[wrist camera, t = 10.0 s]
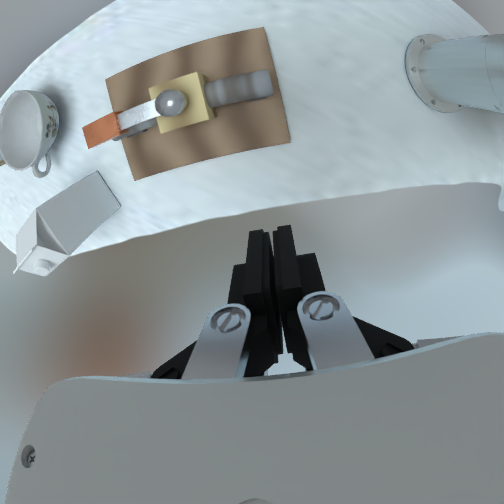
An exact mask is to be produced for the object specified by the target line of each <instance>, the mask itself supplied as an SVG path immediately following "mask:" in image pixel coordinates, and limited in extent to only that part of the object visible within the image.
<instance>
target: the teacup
mask: <svg viewBox="0 0 504 504" xmlns="http://www.w3.org/2000/svg"><path fill="white" fill-rule="evenodd" d="M58 127H59V114H58V111H57V108H56V106H55V104H54V103H53V102H52V100H51V99H50V98H49V97H47V96H46V95H44V94H42V93H39V92H36V91H29V90H21V91H15V92H14V93H12V94H11V95H10V97H9V98H8V99H7V101H6V102H5V104H4V106H3V108H2V111H1V114H0V153H1V155H2V157H3V159H4V161H5V162H6V164H7V165H8V166H9V167H11V168H12V169H14V170H25V169H27V168H29V167H30V166H32V167H33V174H34V175H35V176H36V177H38V178H42V177H44V176H46V175H47V174H48V173H49V171H50V167H51V160H50V156H49V149H50V147H51V146H52V144H53V142H54V140H55V138H56V135H57V132H58ZM44 155H46V161H47V168H46V171H45V172H40V171H39V169H38V164H39V162H40V159H41V158H42V157H43V156H44Z"/></svg>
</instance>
